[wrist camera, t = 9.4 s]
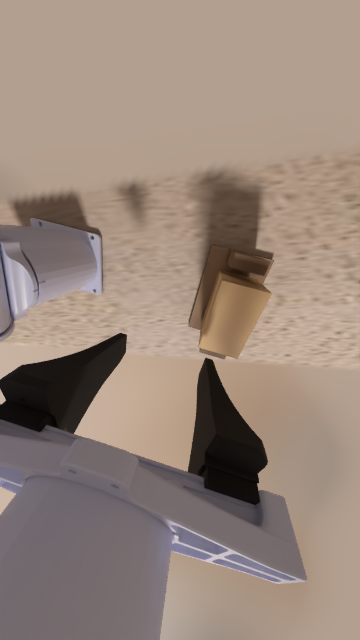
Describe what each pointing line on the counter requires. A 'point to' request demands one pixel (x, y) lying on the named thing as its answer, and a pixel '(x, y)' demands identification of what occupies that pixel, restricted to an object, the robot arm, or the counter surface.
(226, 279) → the block
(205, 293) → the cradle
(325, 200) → the counter surface
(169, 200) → the counter surface
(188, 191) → the counter surface
